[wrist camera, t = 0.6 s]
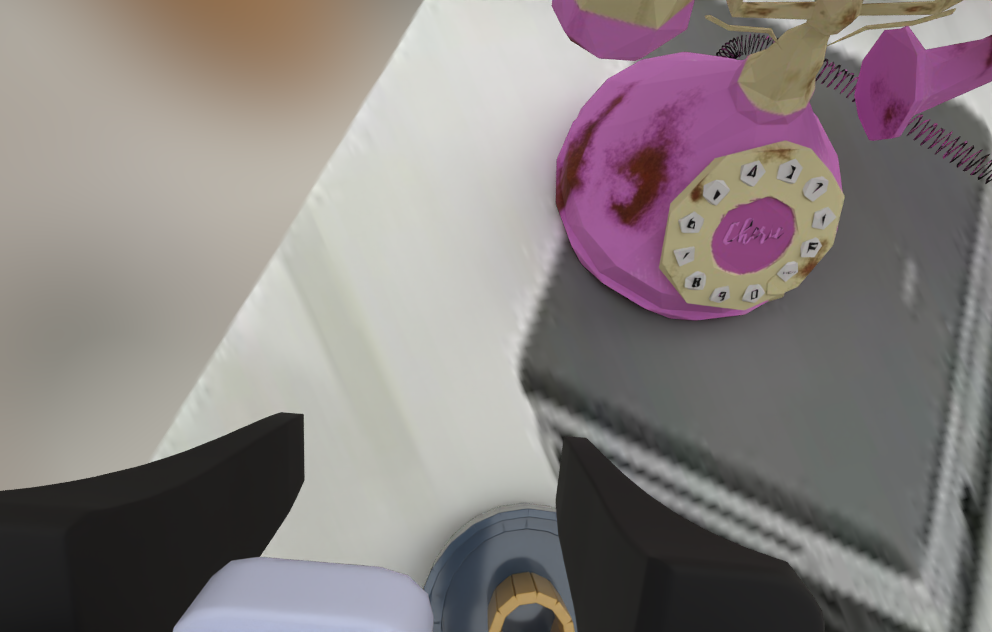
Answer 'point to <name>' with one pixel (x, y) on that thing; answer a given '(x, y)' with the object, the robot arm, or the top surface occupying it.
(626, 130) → the telephone
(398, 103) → the top surface
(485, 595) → the bowl
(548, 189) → the top surface
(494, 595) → the brass ring
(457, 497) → the top surface
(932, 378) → the top surface
